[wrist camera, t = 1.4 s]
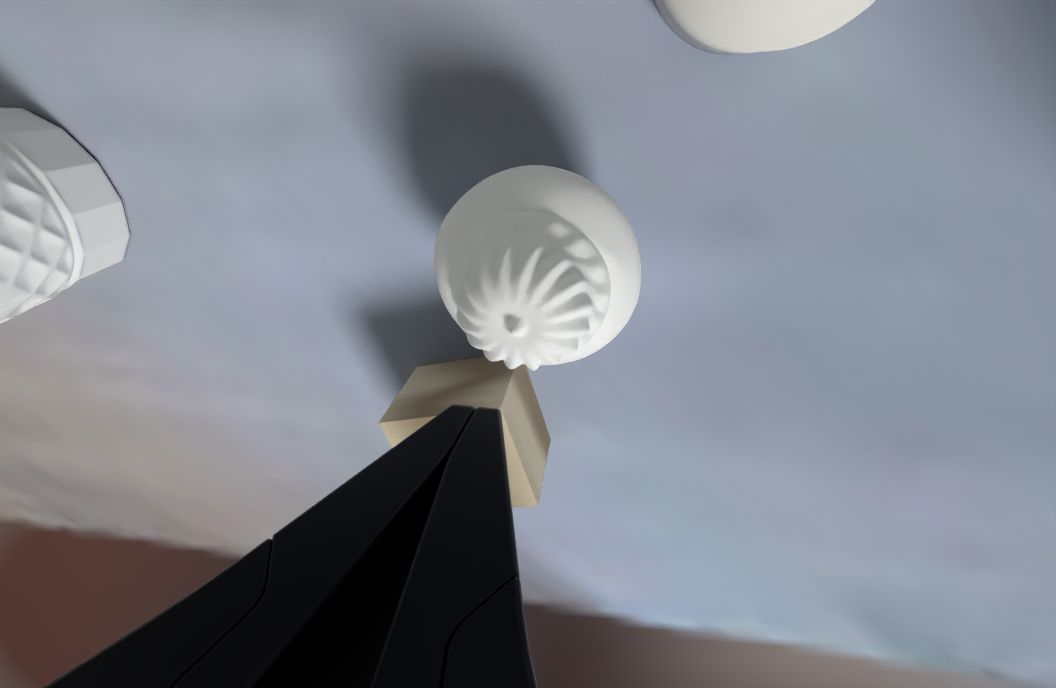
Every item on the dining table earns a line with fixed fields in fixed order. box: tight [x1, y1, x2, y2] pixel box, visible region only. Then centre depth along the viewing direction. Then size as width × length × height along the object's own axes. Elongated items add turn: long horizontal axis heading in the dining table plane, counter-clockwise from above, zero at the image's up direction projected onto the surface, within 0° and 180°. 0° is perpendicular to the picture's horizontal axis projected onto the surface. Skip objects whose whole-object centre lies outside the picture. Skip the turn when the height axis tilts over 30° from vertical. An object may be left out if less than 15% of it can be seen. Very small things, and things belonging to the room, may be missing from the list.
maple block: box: [379, 356, 550, 507], centre depth 20 cm, size 5×5×4 cm
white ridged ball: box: [434, 165, 641, 371], centre depth 14 cm, size 6×6×7 cm
